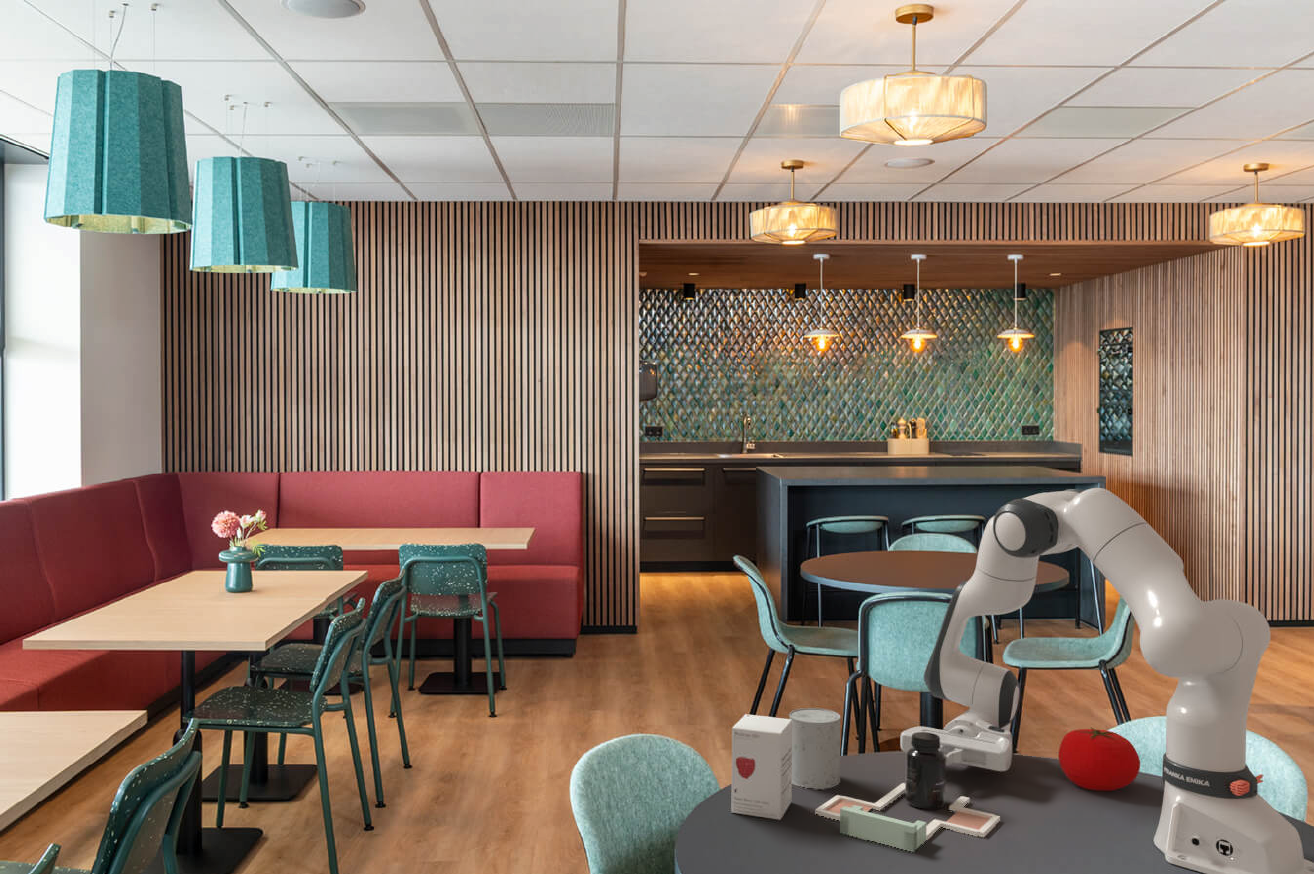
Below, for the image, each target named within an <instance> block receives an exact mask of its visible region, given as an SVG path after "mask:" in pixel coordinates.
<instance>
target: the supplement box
mask: <svg viewBox="0 0 1314 874" xmlns="http://www.w3.org/2000/svg"><path fill="white" fill-rule="evenodd" d="M792 726H793V720H792V719H790V718H782V717H781V718H780V717H773V716H766V715H757V714H755V715H754V714H747V713H745V714H744V715H743V716H742V717H741V718H740V719H739V720H738V721H737V722H736V723H735V724H734V725H733V726H732V728H731V787H730V788H731V789H730V791H731V794H730V796H731V799H730V800H731V801H730V804H731V806H730V808H731V810H730V811H731V814H732V813H733V814H741V815H747V816H752V817H758V818H759V817H760V818H766V819H772V820H779V821H780V820H781V819H782V818H783V817H784V815H785V813H786V811H787V810H788V808H789V806H790V804H791V803H792V792H793V790H792V786H793V784H792Z"/></svg>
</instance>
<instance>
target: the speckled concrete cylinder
mask: <svg viewBox="0 0 1314 874" xmlns="http://www.w3.org/2000/svg"><path fill="white" fill-rule="evenodd" d="M788 716H789V719H792V720H793V726H792V785H794V786H796V785H797V786H796V787H798V786H801V787H800V788H802V787H805V788H804V789H807V788H814V789H813V790H818V789H821V790H825V789H824V788H830V787H834V786H836V785H838V784H839V783H841V718H842V717H841V715H840V714H839V712H836V711H833V710H830V709H827V708H826V709H825V708H816V707H814V708H813V707H808V708H798V709H794V710H792V711H791V712H789V715H788ZM839 785H840V784H839ZM839 785H838V786H839ZM836 787H837V786H836ZM834 788H835V787H834ZM830 789H831V788H830Z"/></svg>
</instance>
